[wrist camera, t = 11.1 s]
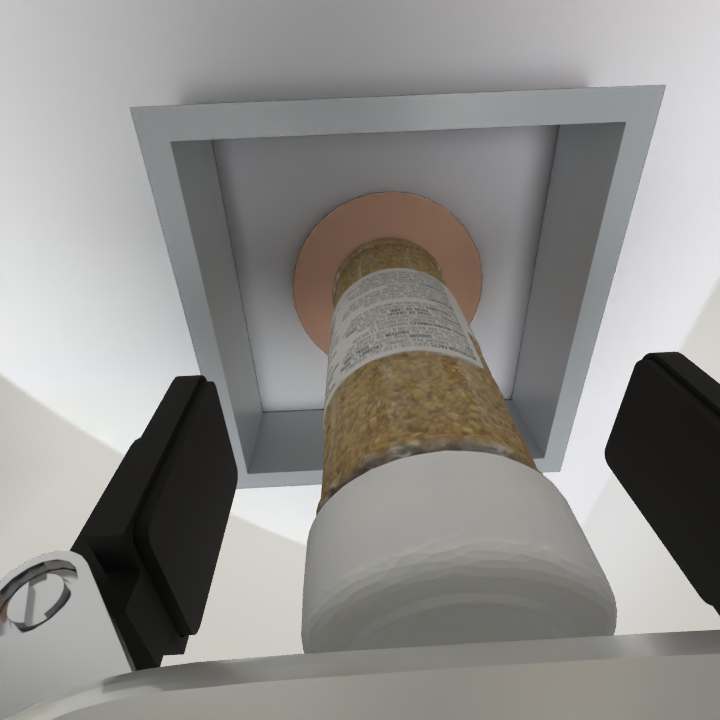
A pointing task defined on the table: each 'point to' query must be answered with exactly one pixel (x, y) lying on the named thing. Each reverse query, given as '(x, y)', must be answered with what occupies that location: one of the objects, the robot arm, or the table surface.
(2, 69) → the table surface
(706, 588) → the robot arm
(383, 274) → the sprinkles bottle
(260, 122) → the grey square tray
